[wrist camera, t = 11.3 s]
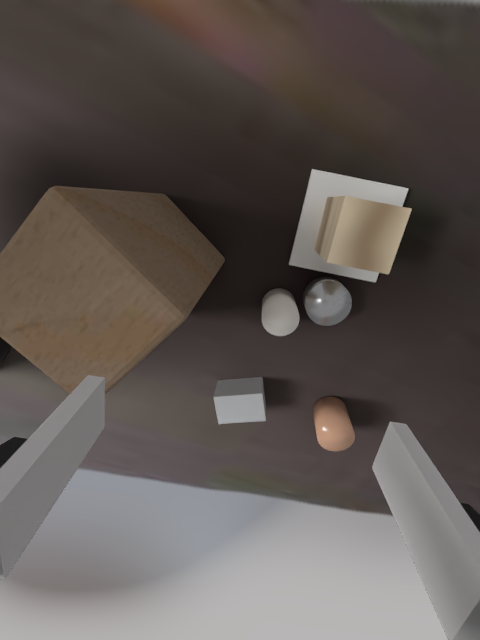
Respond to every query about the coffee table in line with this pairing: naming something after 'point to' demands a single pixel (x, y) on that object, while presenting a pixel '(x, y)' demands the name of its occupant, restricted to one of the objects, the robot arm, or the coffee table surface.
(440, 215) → the coffee table surface
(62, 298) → the wooden block
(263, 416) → the grey box
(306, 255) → the coaster
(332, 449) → the peach capsule
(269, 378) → the coffee table surface
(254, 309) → the coffee table surface
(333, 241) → the maple block
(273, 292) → the grey rounded cylinder
